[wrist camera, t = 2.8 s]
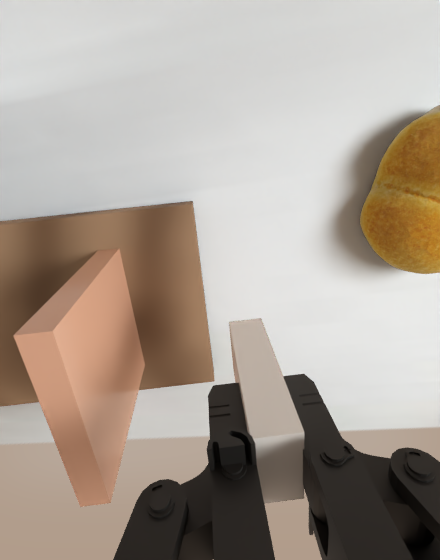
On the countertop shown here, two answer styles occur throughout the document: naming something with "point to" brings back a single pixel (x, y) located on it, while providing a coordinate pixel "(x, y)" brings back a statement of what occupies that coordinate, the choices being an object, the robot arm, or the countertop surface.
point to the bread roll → (407, 199)
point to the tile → (87, 372)
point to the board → (140, 280)
